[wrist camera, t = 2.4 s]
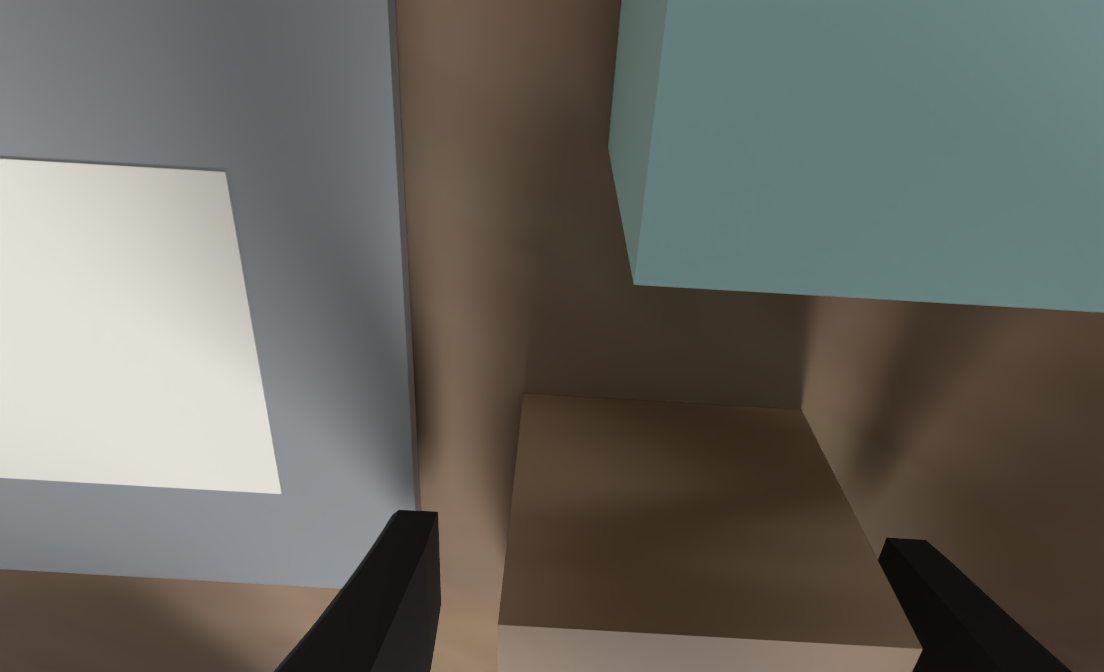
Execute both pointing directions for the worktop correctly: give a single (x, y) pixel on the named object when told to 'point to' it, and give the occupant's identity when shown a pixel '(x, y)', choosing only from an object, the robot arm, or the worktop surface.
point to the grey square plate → (202, 289)
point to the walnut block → (687, 546)
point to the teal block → (864, 148)
